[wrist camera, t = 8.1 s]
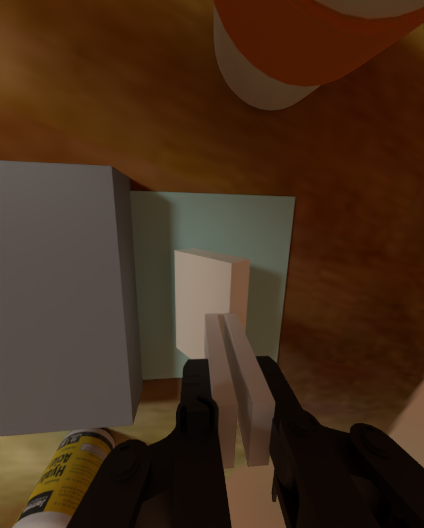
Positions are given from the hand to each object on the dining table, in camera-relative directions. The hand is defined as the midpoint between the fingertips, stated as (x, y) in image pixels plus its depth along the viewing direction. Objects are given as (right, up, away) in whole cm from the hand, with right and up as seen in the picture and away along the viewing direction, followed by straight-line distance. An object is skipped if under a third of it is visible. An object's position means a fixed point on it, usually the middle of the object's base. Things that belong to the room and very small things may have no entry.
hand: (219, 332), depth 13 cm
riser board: (-12, +2, +5) cm, 13 cm away
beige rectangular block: (-2, +1, +2) cm, 3 cm away
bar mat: (0, +2, +6) cm, 6 cm away
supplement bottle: (-14, -15, +9) cm, 22 cm away
